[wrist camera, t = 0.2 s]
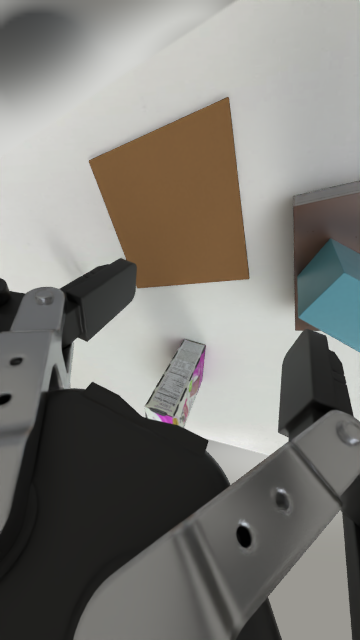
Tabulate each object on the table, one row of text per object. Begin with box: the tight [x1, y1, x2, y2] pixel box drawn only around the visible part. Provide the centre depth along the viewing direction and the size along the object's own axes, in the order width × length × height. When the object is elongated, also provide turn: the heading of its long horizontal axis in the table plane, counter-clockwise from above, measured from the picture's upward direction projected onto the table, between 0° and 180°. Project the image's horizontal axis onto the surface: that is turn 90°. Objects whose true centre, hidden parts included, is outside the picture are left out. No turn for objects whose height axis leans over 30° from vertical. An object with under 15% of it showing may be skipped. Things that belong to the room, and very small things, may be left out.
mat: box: [89, 97, 249, 288], centre depth 33 cm, size 20×20×1 cm
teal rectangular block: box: [297, 239, 360, 352], centre depth 19 cm, size 4×6×8 cm
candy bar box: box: [144, 339, 206, 428], centre depth 41 cm, size 11×5×16 cm, turn 0°
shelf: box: [293, 181, 360, 331], centre depth 25 cm, size 14×8×7 cm, turn 16°
